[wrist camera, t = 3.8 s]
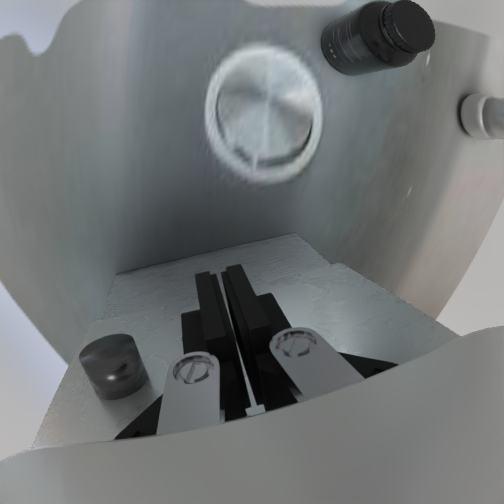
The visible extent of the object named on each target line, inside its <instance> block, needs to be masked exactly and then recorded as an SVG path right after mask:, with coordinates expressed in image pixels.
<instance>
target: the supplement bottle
mask: <svg viewBox="0 0 504 504" xmlns="http://www.w3.org/2000/svg"><path fill="white" fill-rule="evenodd" d="M434 40H435V29H434V25H433V23H432V20H431V19H430V16H429V15H428V14H427V12H426V11H424V9H423V8H422V7H420V6H419V5H418V4H416V3H415V2H412V1H411V0H399V1H396V2H393V3H391V2H388V1H383V0H375V1H371V2H368V3H366V4H364V5H362V6H360V7H359V8H357V9H355V10H353V11H351V12H350V13H348V14H346V15H344V16H343V17H341V18H339V19H338V20H336V21H334V22H333V23H331V24H330V25H329V26H328V27H327V28H326V29H325V31H324V33H323V37H322V47H323V51H324V54H325V56H326V58H327V59H328V61H329V62H330V63H331V64H332V65H333V66H334V67H335V68H336V69H337V70H339V71H341V72H343V73H345V74H349V75H362V74H367V73H372V72H377V71H381V70H386V69H392V68H397V67H402V66H405V65H407V64H409V63H411V62H412V61H413V60H414V59H415V57H416V56H417V54H418V53H419V52H422V51H426V50H427V49H430V47H432V45H433V44H434Z"/></svg>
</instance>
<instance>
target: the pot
mask: <svg viewBox="0 0 504 504" xmlns="http://www.w3.org/2000/svg"><path fill="white" fill-rule="evenodd" d="M237 264H241V265H242V267H243V269H244V271H245V274H246V276H247V278H248V280H249V282H250V284H251V286H252V285H256V284H260V283H264V282H268V281H272V280H276V279H280V278H284V277H288V276H292V275H295V274H299V273H303V272H307V271H311V270H315V269H318V268H322V267H326V266H330V265H331V264H330V263H329V262H328V261H326V260H325V259H324V258H323V257H322V256H321V255H320V254H319V253H318V252H317V251H316V250H314V249H313V248H312V247H311V246H310V245H309V244H308V243H307V242H306V241H304V240H303V239H302V238H301V237H300V236H299V235H298V234H297V233H291V234H287V235H282V236H278V237H274V238H269V239H265V240H260V241H256V242H252V243H247V244H243V245H239V246H234V247H230V248H226V249H221V250H217V251H213V252H208V253H204V254H200V255H195V256H191V257H187V258H183V259H178V260H174V261H170V262H165V263H161V264H157V265H153V266H149V267H144V268H140V269H136V270H132V271H127V272H123V273H119V274H116V277H115V280H114V283H113V285H112V288H111V291H110V294H109V297H108V300H107V303H106V306H105V309H104V312H103V316H102V319H101V320H103V319H108V318H113V317H118V316H122V315H127V314H131V313H136V312H141V311H145V310H150V309H154V308H159V307H163V306H168V305H172V304H176V303H181V302H185V301H189V300H194V299H198V294H197V287H196V281H195V274H197V273H202V272H206V271H210V275H211V274H215V273H216V275H217V278H218V281H219V285H220V288H221V292H222V293H223V292H225V290H224V286H223V281H222V276H221V272H224V271H226V267H228V266H232V265H237Z"/></svg>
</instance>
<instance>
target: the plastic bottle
mask: <svg viewBox="0 0 504 504" xmlns="http://www.w3.org/2000/svg"><path fill="white" fill-rule="evenodd" d="M461 121H462V124H463V126H464V128H465V130H466V131H467V132H468V133H469V134H470V135H471V136H473V137H475V138H478V139H481V140H489V139H504V98H498V97H492V96H490V95H486V94H481V93H476V94H472V95H469V96H468V97H467V98H466V99H465V100H464V101H463V103H462V106H461Z"/></svg>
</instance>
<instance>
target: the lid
mask: <svg viewBox="0 0 504 504" xmlns="http://www.w3.org/2000/svg"><path fill="white" fill-rule="evenodd" d="M252 288H253V290H254V292H255V294H256V296H258V295H262V294H266V293H270V292H271V293H272V294H273V296H274V297H275V299H276V301H277V303H278V304H279V306H280V308H281V309H282V311H283V313H284V315H285V316H286V318H287V320H288V321H289V323H290V325H291V326H292V328H294V327H304V328H309V329H312V330H314V331H316V332H317V333H319V334H320V335H321V336H322V337H323V338H324V339H325V340H326V341H327V342H328V343H329V344H330V345H331V346H332V347H333V348H334V349H335V350H336V351H337V352H342V353H347V354H351V355H356V356H361V357H367V358H372V359H377V360H382V361H388V362H392V363H396V364H399V365H400V364H402V363H405V362H407V361H409V360H412V359H414V358H416V357H418V356H420V355H422V354H424V353H426V352H429V351H431V350H433V349H435V348H438V347H440V346H442V345H444V344H446V343H449V342H451V341H453V340H455V339H457V338H459V337H461V336H459V335H457V334H456V333H454V332H453V331H451V330H450V329H448V328H447V327H445V326H444V325H442V324H440V323H439V322H437V321H436V320H434V319H432V318H431V317H429V316H428V315H426V314H424V313H423V312H421V311H420V310H418V309H416V308H415V307H413V306H412V305H410V304H408V303H407V302H405V301H403V300H402V299H400V298H399V297H397V296H395V295H394V294H392V293H390V292H389V291H387V290H385V289H384V288H382V287H380V286H379V285H377V284H375V283H374V282H372V281H370V280H369V279H367V278H365V277H364V276H362V275H360V274H359V273H357V272H355V271H354V270H352V269H350V268H349V267H347V266H345V265H343V264H342V263H337V264H333V265H330V266H326V267H322V268H318V269H315V270H311V271H307V272H303V273H299V274H295V275H292V276H288V277H284V278H280V279H276V280H272V281H268V282H264V283H260V284H256V285H252ZM222 295H223V298H224V302H225V305H226V308H227V312H228V315H229V318H230V322H231V317H230V313H229V308H228V304H227V299H226V295H225V292H223V293H222ZM199 309H200V307H199V301H198V299H194V300H189V301H185V302H181V303H176V304H172V305H168V306H163V307H159V308H154V309H150V310H145V311H141V312H136V313H131V314H127V315H122V316H118V317H113V318H108V319H103V320H98V321H94V322H92V324H91V326H90V327H89V329H88V331H87V333H86V335H85V337H84V338H83V340H82V342H81V344H80V346H79V348H78V350H77V352H76V353H75V355H74V357H73V359H72V361H71V363H70V365H69V367H68V369H67V371H66V373H65V375H64V377H63V379H62V381H61V383H60V385H59V387H58V389H57V391H56V394H55V396H54V398H53V400H52V402H51V404H50V406H49V408H48V411H47V413H46V415H45V417H44V419H43V422H42V424H41V426H40V429H39V431H38V433H37V436H36V438H35V440H34V443H33V445H32V448H31V449H34V448H38V447H44V446H51V445H61V444H75V443H86V442H96V441H108V440H114V438H115V437H116V436H117V435H118V434H119V433H120V432H121V431H122V430H123V429H124V428H125V427H127V426H128V425H129V424H130V423H131V422H132V421H133V420H134V419H135V418H137V417H138V416H139V415H140V414H141V413H142V412H143V411H144V410H145V409H147V408H148V407H149V406H150V405H151V404H152V403H153V402H154V401H155V400H156V399H157V398H159V397H160V396H161V395H162V394H163V392H164V386H165V381H166V375H167V371H168V368H169V366H170V365H171V364H172V362H173V361H174V360H176V359H177V358H179V357H180V356H182V355H184V354H183V341H182V326H181V313H185V312H190V311H194V310H199ZM231 325H232V322H231ZM232 328H233V326H232ZM233 332H234V331H233ZM236 343H237V342H236ZM237 348H238V345H237ZM238 352H239V349H238ZM239 356H240V360H241V365H242V369H243V373H244V377H245V381H246V386H247V390H248V394H249V398H250V402H251V406H252V407H250V408H247V409H246V413H247V417H248V416H252V415H255V414H259V413H263V412H266V411H265V408H264V405H263V404H262V405H258V406H257V404H256V402H255V398H254V395H253V392H252V389H251V386H250V383H249V380H248V377H247V374H246V371H245V368H244V365H243V361H242V358H241V355H240V352H239Z"/></svg>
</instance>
